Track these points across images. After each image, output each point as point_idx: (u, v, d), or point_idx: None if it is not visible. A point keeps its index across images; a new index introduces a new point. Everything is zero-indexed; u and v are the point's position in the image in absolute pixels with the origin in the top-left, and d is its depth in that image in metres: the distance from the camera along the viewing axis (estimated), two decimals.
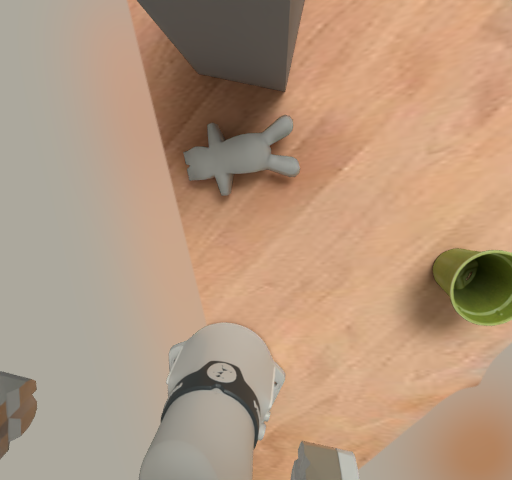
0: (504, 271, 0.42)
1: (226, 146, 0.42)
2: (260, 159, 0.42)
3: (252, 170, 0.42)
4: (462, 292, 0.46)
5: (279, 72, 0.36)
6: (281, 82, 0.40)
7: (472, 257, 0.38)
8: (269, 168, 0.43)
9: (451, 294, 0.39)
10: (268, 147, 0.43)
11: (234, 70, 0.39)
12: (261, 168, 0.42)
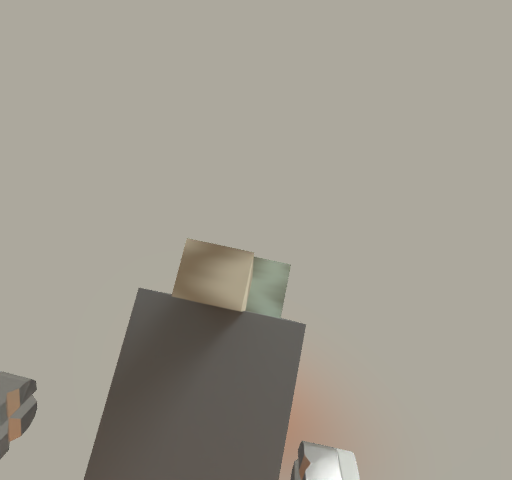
0: None
1: None
2: None
3: None
4: None
5: None
6: None
7: None
8: None
9: None
10: None
11: None
12: None
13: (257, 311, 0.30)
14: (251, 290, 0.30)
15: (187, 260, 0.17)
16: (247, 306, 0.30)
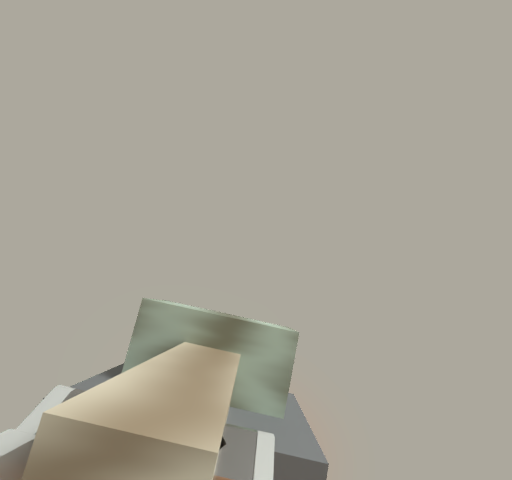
0: None
1: None
2: None
3: None
4: None
5: None
6: None
7: None
8: None
9: None
10: None
11: None
12: None
13: (248, 407, 0.19)
14: (239, 373, 0.20)
15: (39, 478, 0.06)
16: (232, 399, 0.19)
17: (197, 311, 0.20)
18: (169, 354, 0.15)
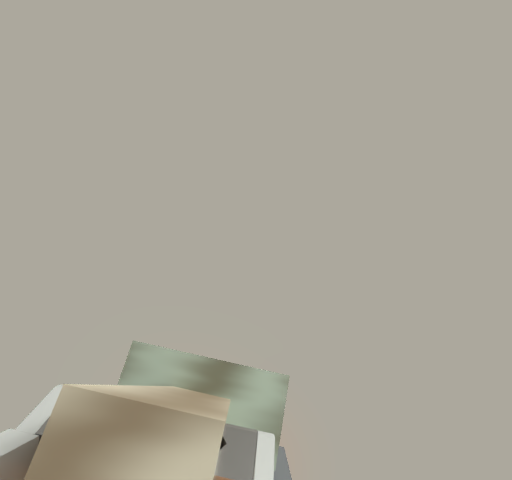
0: None
1: None
2: None
3: None
4: None
5: None
6: None
7: None
8: None
9: None
10: None
11: None
12: None
13: None
14: (228, 420, 0.19)
15: (54, 447, 0.06)
16: None
17: (187, 354, 0.20)
18: (161, 387, 0.15)
